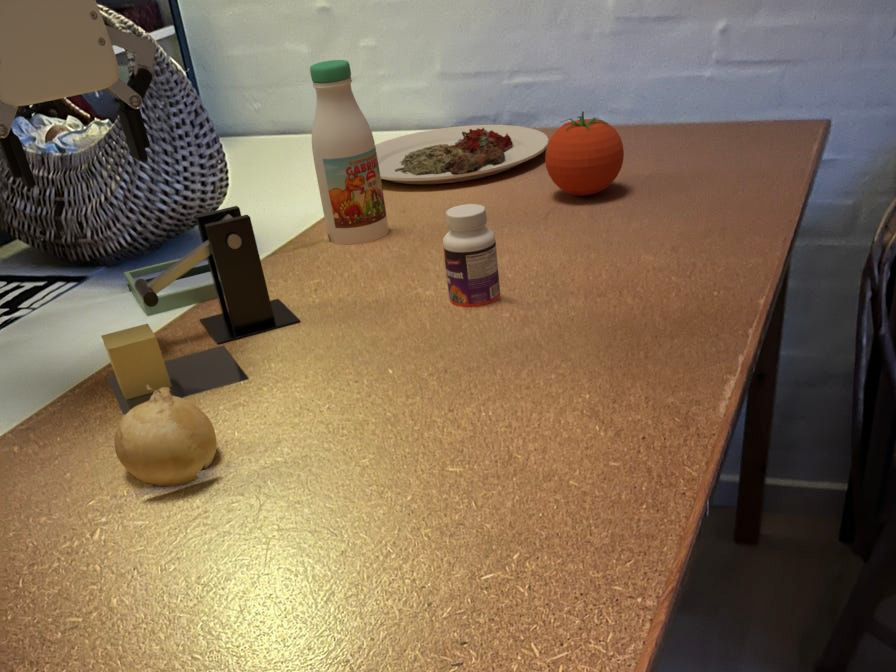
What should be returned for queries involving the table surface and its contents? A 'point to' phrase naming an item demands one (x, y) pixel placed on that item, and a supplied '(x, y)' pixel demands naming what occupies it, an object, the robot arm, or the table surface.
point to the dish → (174, 298)
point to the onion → (165, 440)
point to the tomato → (584, 156)
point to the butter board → (190, 376)
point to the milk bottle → (345, 159)
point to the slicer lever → (172, 273)
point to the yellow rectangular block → (136, 360)
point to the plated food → (457, 153)
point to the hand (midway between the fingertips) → (86, 172)
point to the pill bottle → (470, 257)
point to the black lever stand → (238, 280)
